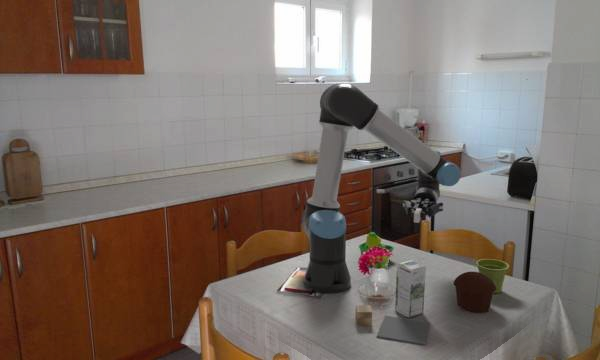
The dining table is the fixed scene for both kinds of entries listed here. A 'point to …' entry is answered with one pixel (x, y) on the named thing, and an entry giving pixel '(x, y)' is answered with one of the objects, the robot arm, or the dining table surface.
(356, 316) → the oak block
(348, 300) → the dining table surface
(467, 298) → the muffin
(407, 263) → the syrup box
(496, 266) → the plant pot
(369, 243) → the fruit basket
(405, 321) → the rubber mat
